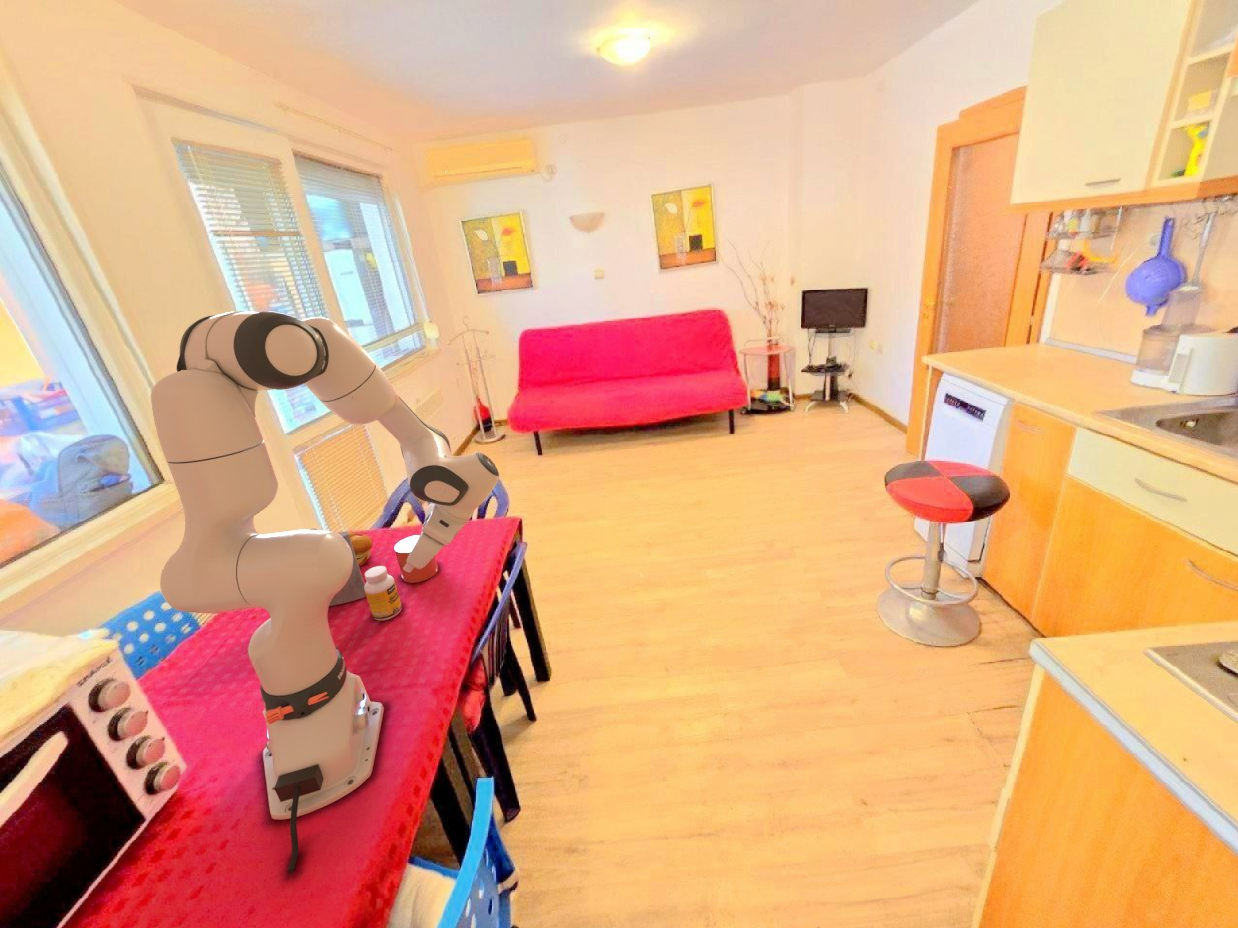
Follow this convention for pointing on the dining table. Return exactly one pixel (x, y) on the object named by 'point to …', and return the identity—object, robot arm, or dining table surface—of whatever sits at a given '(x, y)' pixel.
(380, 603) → the pill bottle
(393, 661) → the dining table surface
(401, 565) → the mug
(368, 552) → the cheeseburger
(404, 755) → the dining table surface
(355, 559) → the hip flask
